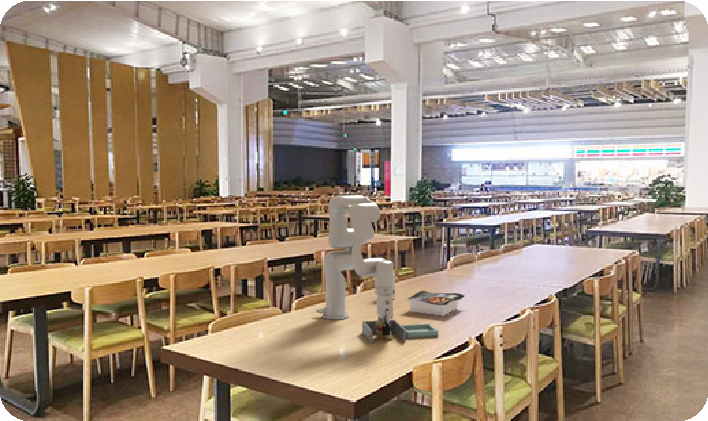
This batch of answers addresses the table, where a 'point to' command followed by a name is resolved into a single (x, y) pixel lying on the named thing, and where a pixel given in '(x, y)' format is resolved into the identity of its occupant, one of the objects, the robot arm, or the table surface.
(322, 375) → the table surface
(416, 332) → the tray
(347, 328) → the table surface
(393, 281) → the supplement can
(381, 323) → the chocolate bunny
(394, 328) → the bay
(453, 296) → the food packaging
